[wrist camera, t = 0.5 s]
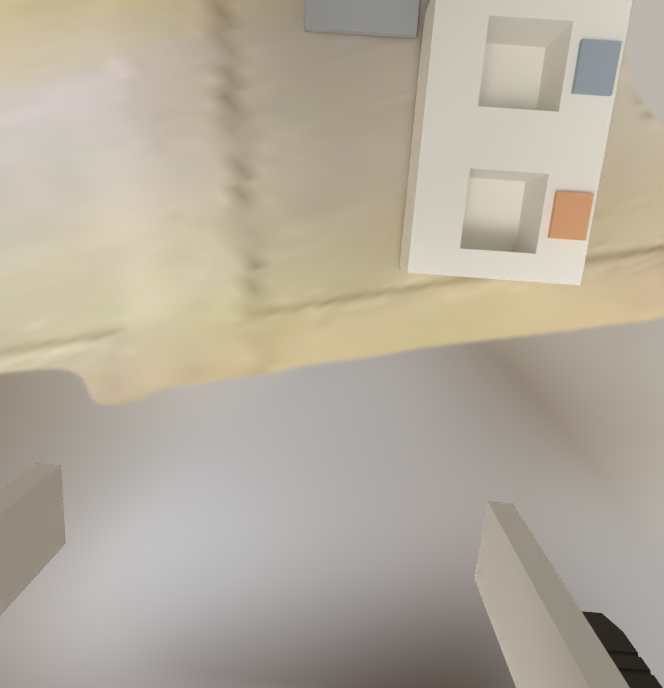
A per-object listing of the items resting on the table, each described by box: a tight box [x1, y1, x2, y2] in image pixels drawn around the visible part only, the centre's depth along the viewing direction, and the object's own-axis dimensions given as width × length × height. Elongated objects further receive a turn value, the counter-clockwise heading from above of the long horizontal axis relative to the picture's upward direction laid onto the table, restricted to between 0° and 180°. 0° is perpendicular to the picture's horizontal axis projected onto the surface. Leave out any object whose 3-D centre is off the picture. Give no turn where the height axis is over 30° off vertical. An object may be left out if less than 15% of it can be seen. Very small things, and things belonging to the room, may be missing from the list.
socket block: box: [399, 0, 633, 285], centre depth 33 cm, size 18×12×5 cm, turn 176°
